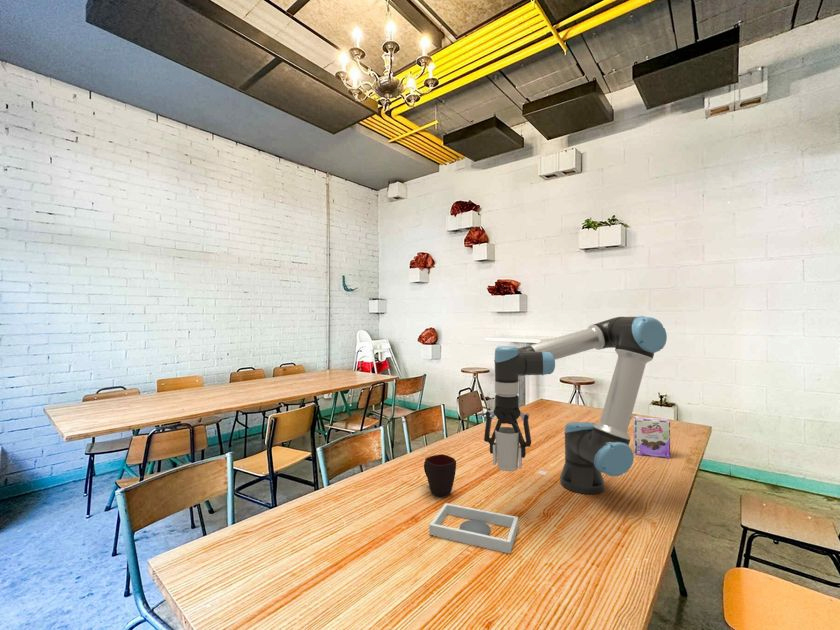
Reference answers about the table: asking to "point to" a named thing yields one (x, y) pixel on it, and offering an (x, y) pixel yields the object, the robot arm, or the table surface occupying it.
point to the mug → (440, 474)
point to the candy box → (651, 437)
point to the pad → (476, 527)
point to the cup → (507, 448)
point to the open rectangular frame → (473, 537)
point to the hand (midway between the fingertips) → (507, 465)
